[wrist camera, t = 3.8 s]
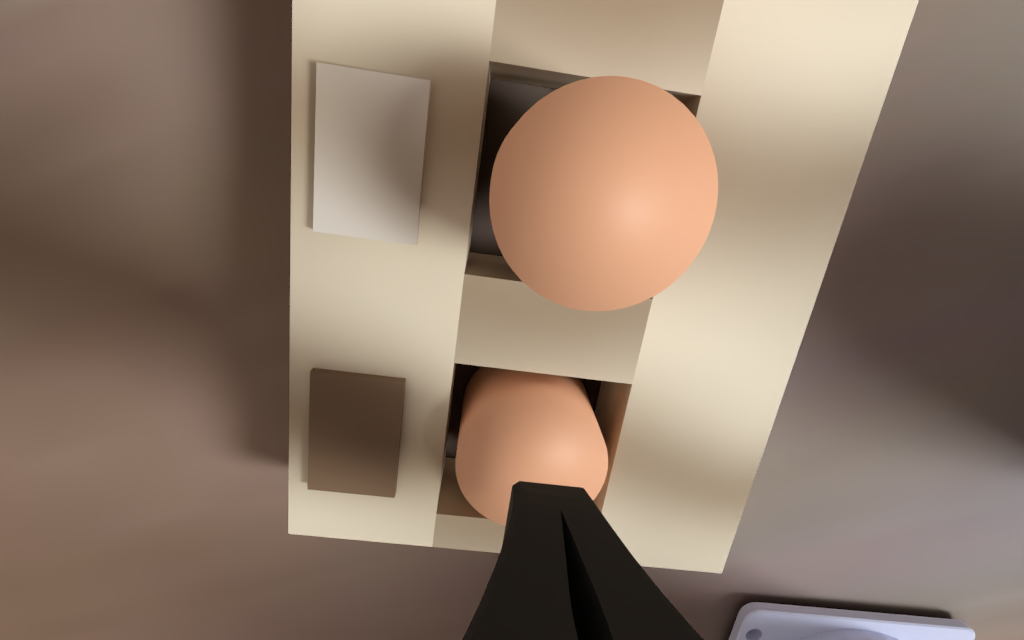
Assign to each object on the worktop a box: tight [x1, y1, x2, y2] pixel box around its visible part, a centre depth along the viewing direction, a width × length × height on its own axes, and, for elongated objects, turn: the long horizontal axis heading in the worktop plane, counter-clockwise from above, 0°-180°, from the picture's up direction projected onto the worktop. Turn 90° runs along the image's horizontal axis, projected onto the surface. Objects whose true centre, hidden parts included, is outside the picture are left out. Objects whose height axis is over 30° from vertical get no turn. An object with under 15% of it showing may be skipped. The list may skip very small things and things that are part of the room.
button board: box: [288, 0, 919, 573], centre depth 11 cm, size 18×11×3 cm, turn 172°
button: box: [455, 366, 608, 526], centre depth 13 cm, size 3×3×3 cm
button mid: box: [489, 76, 718, 311], centre depth 9 cm, size 3×3×3 cm
